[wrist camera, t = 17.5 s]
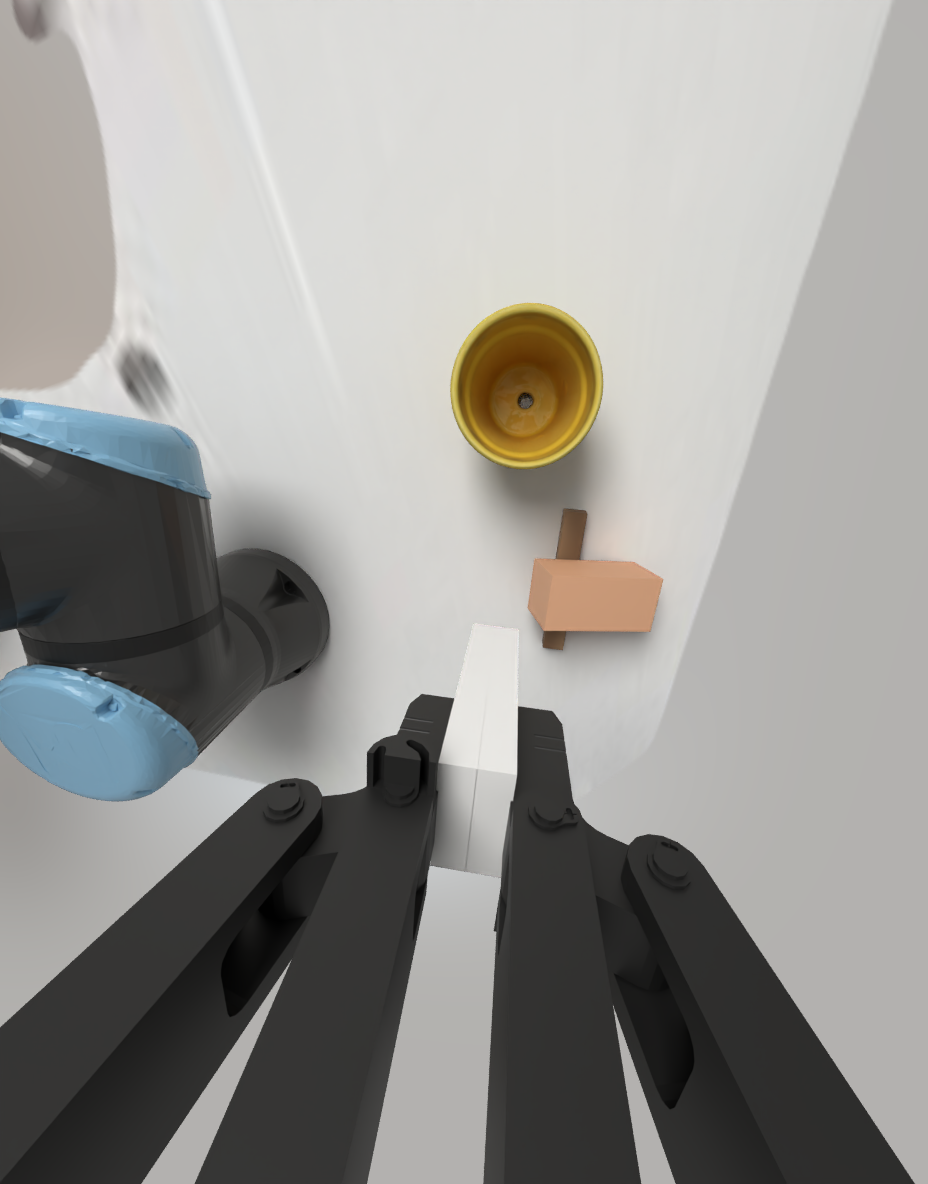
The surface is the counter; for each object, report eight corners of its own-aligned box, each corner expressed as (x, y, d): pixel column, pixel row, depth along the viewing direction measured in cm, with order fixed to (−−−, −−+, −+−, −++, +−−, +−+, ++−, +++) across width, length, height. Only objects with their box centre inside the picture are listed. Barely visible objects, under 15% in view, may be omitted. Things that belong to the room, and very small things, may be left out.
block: (543, 630, 38) (650, 631, 39) (552, 575, 36) (663, 579, 38) (527, 608, 42) (623, 609, 44) (534, 558, 41) (634, 562, 42)
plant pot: (589, 331, 36) (611, 296, 27) (579, 461, 40) (597, 469, 31) (465, 337, 38) (446, 305, 28) (466, 462, 41) (451, 470, 32)
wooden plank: (542, 641, 46) (542, 647, 45) (563, 508, 41) (565, 511, 40) (561, 643, 46) (562, 650, 45) (585, 510, 41) (587, 513, 40)
